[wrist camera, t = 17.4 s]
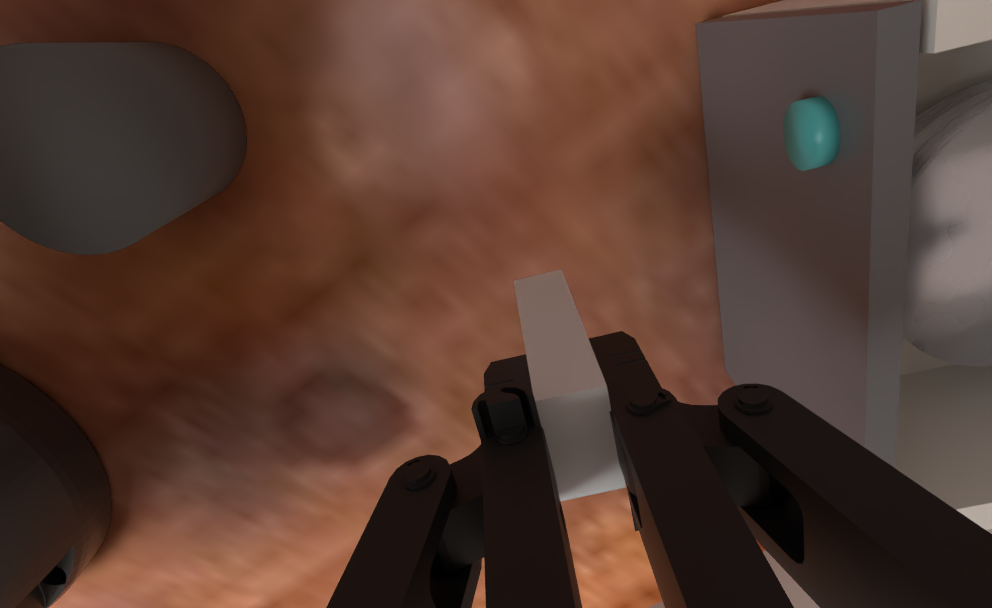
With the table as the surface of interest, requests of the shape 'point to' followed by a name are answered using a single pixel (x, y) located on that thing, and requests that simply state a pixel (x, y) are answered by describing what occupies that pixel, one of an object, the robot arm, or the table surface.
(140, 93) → the stand
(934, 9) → the housing
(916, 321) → the disc
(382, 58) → the table surface
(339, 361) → the table surface
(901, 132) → the grey plate and rod
